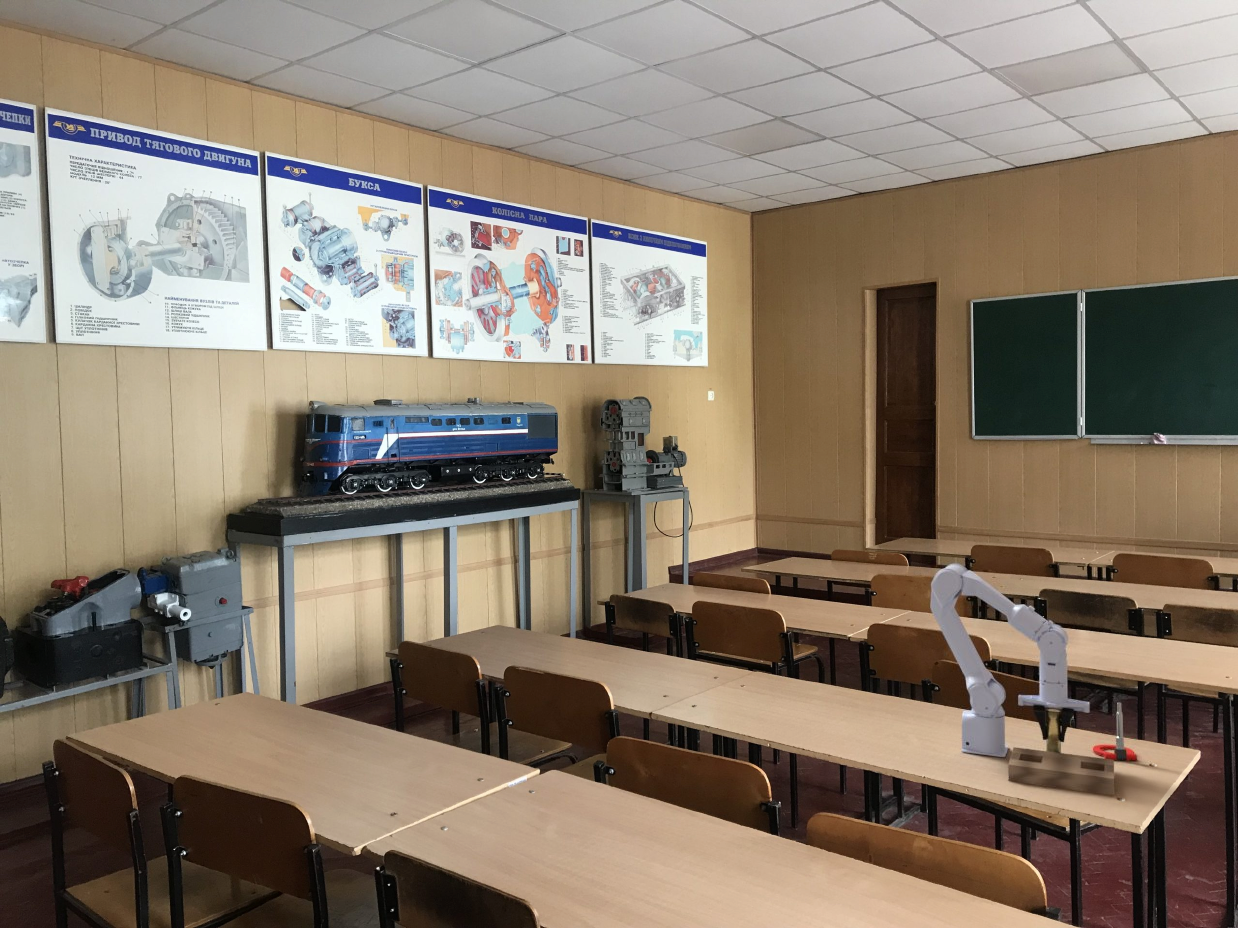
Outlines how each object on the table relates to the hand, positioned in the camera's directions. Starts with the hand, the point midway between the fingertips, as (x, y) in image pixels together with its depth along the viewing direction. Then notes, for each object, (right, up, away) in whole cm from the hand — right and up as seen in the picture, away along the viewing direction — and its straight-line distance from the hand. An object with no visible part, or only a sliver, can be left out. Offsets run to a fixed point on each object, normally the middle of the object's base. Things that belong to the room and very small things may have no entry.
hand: (1053, 739), depth 211 cm
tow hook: (+15, -5, +3) cm, 16 cm away
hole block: (-3, -5, -11) cm, 12 cm away
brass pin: (0, -3, 0) cm, 3 cm away
